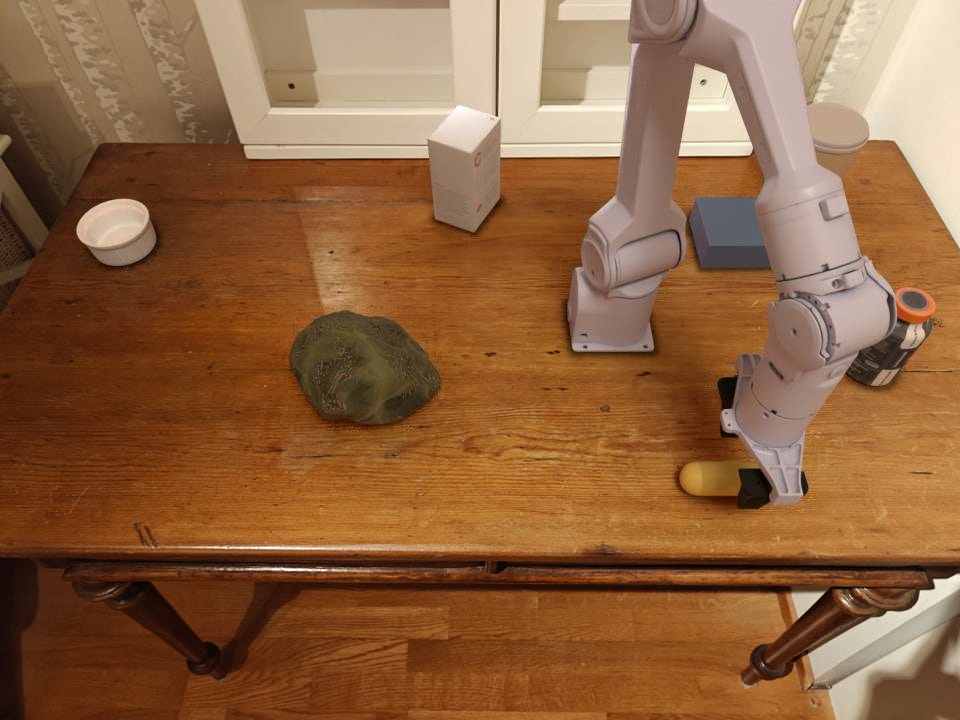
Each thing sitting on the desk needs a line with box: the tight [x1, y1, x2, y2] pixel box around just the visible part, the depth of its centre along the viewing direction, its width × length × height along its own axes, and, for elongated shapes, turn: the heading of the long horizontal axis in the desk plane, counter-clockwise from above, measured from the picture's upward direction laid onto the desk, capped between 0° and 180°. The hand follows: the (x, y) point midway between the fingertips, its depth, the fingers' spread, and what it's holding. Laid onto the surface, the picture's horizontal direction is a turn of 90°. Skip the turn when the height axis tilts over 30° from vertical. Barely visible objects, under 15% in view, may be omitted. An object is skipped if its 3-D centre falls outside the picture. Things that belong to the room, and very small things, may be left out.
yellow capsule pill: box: [679, 460, 760, 497], centre depth 70 cm, size 10×3×3 cm, turn 90°
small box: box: [426, 105, 502, 233], centre depth 91 cm, size 8×6×13 cm
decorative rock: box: [288, 309, 442, 426], centre depth 75 cm, size 15×16×10 cm
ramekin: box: [75, 198, 157, 267], centre depth 91 cm, size 9×9×4 cm
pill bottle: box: [845, 286, 937, 387], centre depth 75 cm, size 6×6×11 cm
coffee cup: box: [807, 102, 870, 182], centre depth 92 cm, size 9×9×12 cm
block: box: [688, 196, 771, 269], centre depth 90 cm, size 14×9×4 cm, turn 90°
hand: (738, 469), depth 68 cm, fingers open, 7 cm apart
